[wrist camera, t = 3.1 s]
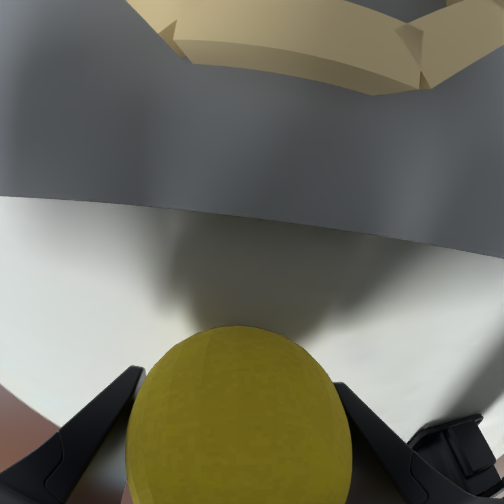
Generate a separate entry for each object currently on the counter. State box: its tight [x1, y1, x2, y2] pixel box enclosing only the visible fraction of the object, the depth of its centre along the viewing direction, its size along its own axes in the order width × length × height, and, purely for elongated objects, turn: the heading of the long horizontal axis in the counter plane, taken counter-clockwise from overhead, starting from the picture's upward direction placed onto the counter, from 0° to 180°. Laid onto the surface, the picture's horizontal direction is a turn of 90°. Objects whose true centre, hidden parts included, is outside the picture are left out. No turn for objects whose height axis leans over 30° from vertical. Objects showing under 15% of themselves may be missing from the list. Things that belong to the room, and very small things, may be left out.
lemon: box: [125, 326, 352, 504], centre depth 7 cm, size 6×6×8 cm
